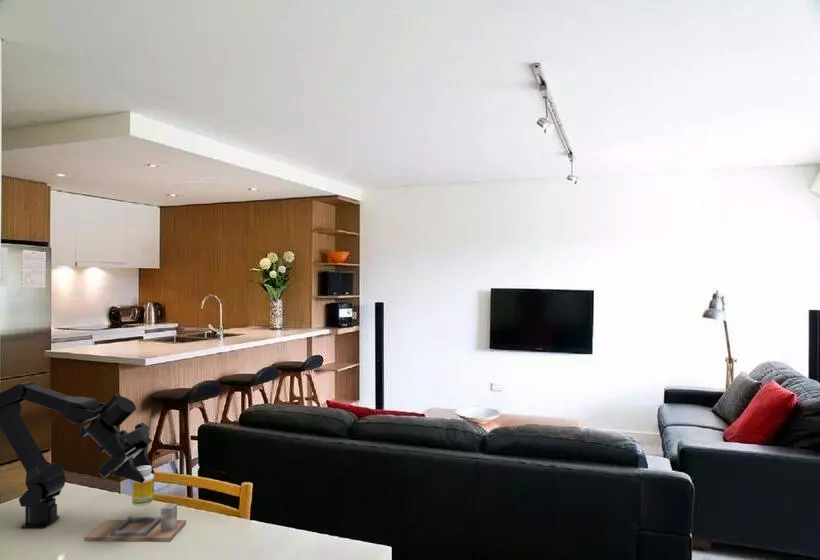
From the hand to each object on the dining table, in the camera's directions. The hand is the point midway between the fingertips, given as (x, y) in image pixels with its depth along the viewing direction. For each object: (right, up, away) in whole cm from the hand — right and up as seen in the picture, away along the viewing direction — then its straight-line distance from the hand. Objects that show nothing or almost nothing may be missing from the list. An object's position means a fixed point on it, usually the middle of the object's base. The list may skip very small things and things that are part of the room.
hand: (148, 477), depth 147 cm
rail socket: (-1, -13, -4) cm, 14 cm away
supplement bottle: (-1, -7, 0) cm, 7 cm away
